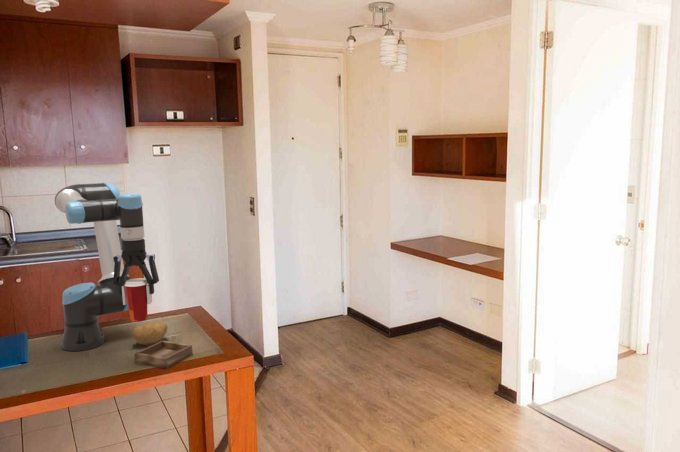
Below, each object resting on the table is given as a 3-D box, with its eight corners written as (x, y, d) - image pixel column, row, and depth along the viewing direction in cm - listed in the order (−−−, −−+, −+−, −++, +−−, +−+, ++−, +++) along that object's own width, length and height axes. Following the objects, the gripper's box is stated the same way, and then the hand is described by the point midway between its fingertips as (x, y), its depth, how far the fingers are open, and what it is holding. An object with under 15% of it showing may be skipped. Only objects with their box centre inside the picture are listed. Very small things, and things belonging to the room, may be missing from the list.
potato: (174, 341, 214) (172, 321, 213) (140, 351, 204) (139, 330, 203) (161, 335, 221) (160, 316, 220) (128, 345, 211) (126, 325, 209)
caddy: (135, 362, 193) (134, 353, 192) (162, 349, 206) (162, 340, 205) (165, 368, 187) (165, 359, 187) (192, 354, 200) (192, 345, 199)
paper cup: (154, 316, 193) (152, 278, 192) (143, 323, 186) (140, 283, 184) (134, 315, 195) (131, 277, 193) (122, 322, 188) (119, 282, 186)
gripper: (98, 241, 183) (103, 307, 186) (159, 239, 183) (164, 305, 186) (107, 238, 191) (112, 301, 194) (166, 236, 191) (170, 299, 194)
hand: (137, 303), depth 190 cm, fingers closed on paper cup, 8 cm apart
